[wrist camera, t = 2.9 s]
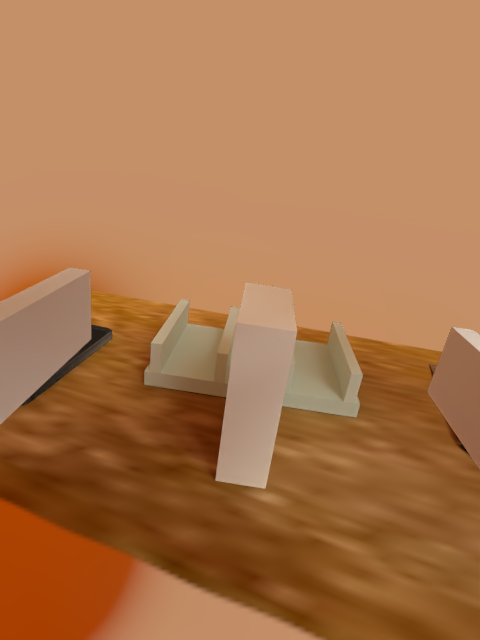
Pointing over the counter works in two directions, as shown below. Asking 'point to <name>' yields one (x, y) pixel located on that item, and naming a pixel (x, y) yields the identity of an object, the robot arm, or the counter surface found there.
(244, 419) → the beige rectangular block
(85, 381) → the counter surface
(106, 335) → the phone
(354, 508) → the counter surface
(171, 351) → the slotted rack base
